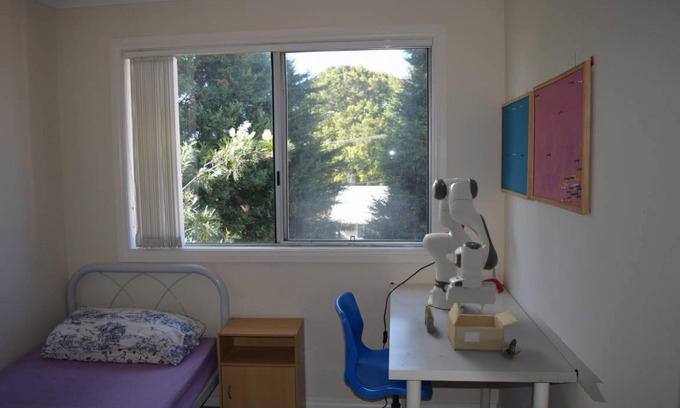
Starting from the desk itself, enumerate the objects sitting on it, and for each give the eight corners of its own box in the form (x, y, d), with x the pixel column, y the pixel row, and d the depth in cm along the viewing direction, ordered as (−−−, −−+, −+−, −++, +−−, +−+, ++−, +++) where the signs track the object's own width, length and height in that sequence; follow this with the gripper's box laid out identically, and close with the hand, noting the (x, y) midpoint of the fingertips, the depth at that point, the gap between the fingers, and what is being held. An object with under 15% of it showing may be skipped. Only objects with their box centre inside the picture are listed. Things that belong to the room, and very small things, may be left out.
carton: (447, 335, 212) (448, 313, 211) (493, 337, 211) (494, 315, 210) (454, 350, 196) (455, 327, 195) (503, 352, 195) (504, 328, 194)
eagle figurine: (525, 358, 186) (520, 345, 195) (516, 344, 185) (512, 332, 194) (507, 366, 188) (503, 353, 197) (498, 353, 187) (494, 340, 196)
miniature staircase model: (424, 324, 227) (424, 304, 226) (430, 324, 227) (431, 304, 226) (426, 333, 216) (427, 312, 215) (433, 333, 216) (433, 312, 215)
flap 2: (495, 314, 208) (508, 310, 208) (495, 315, 208) (508, 311, 208) (503, 325, 195) (517, 320, 195) (504, 326, 196) (518, 321, 195)
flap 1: (448, 313, 210) (454, 302, 209) (449, 314, 210) (456, 302, 209) (453, 324, 197) (460, 311, 196) (454, 325, 197) (461, 312, 196)
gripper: (494, 279, 203) (493, 311, 205) (445, 278, 205) (444, 310, 206) (498, 283, 197) (497, 316, 199) (448, 282, 198) (447, 315, 200)
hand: (470, 313), depth 202 cm, fingers open, 6 cm apart
